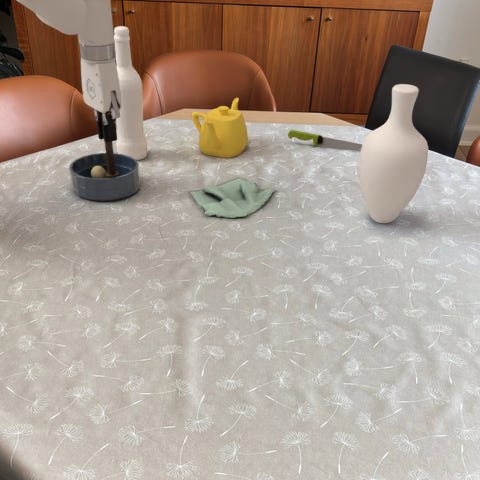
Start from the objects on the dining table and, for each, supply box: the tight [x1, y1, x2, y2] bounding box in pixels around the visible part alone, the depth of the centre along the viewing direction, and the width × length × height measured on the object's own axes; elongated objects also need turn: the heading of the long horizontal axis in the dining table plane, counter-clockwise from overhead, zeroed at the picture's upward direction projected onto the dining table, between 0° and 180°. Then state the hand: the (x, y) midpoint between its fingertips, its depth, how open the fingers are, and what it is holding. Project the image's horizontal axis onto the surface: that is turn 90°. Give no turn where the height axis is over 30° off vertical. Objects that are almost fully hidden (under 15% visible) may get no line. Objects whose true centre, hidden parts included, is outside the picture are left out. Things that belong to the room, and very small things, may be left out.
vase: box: [357, 83, 429, 224], centre depth 139 cm, size 14×14×28 cm
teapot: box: [191, 97, 249, 159], centre depth 176 cm, size 22×16×11 cm
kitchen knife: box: [287, 129, 363, 151], centre depth 180 cm, size 22×1×3 cm, turn 77°
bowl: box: [68, 152, 141, 202], centre depth 157 cm, size 16×16×6 cm
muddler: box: [101, 113, 120, 178], centre depth 154 cm, size 4×4×15 cm
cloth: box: [190, 178, 276, 219], centre depth 155 cm, size 20×22×2 cm
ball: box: [91, 166, 106, 178], centre depth 159 cm, size 4×4×4 cm
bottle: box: [113, 25, 149, 161], centre depth 164 cm, size 8×8×30 cm
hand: (107, 139), depth 153 cm, fingers closed on muddler
